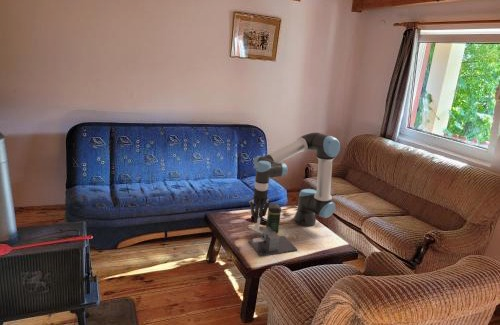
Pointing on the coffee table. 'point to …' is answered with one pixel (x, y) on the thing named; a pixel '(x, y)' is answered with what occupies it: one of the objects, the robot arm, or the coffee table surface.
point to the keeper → (257, 229)
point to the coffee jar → (273, 216)
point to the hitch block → (272, 243)
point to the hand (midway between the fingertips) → (257, 227)
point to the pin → (259, 239)
